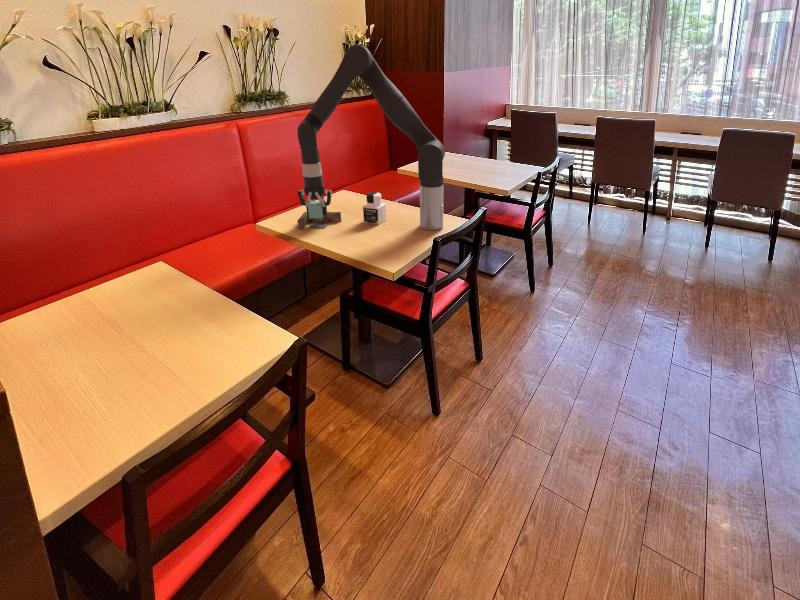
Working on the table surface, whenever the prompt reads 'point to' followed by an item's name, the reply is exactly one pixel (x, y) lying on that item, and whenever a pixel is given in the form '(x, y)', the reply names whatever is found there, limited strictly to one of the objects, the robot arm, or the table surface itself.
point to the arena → (318, 220)
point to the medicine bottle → (374, 209)
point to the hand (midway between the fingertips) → (317, 214)
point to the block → (315, 209)
